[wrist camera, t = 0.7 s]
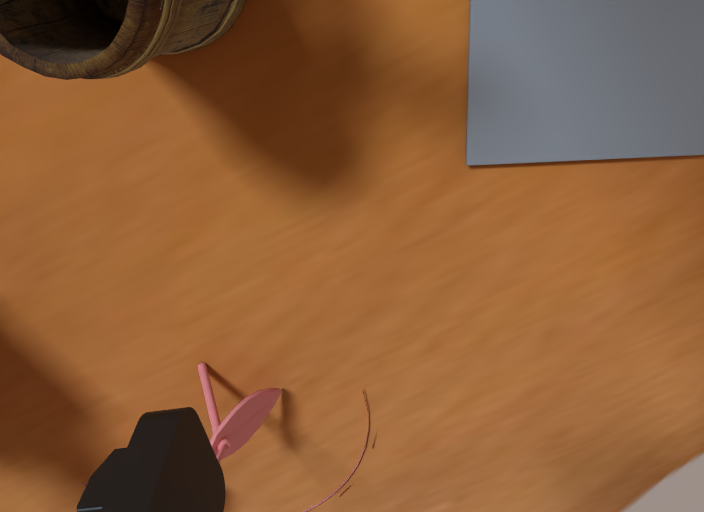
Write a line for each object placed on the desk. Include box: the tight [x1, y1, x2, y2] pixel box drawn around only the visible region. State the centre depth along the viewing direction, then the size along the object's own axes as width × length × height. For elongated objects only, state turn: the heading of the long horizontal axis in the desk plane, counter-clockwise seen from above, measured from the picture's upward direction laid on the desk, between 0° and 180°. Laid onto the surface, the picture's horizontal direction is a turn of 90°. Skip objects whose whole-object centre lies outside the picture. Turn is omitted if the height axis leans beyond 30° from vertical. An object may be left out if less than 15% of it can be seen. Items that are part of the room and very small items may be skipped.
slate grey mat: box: [466, 0, 704, 166], centre depth 31 cm, size 12×12×1 cm
